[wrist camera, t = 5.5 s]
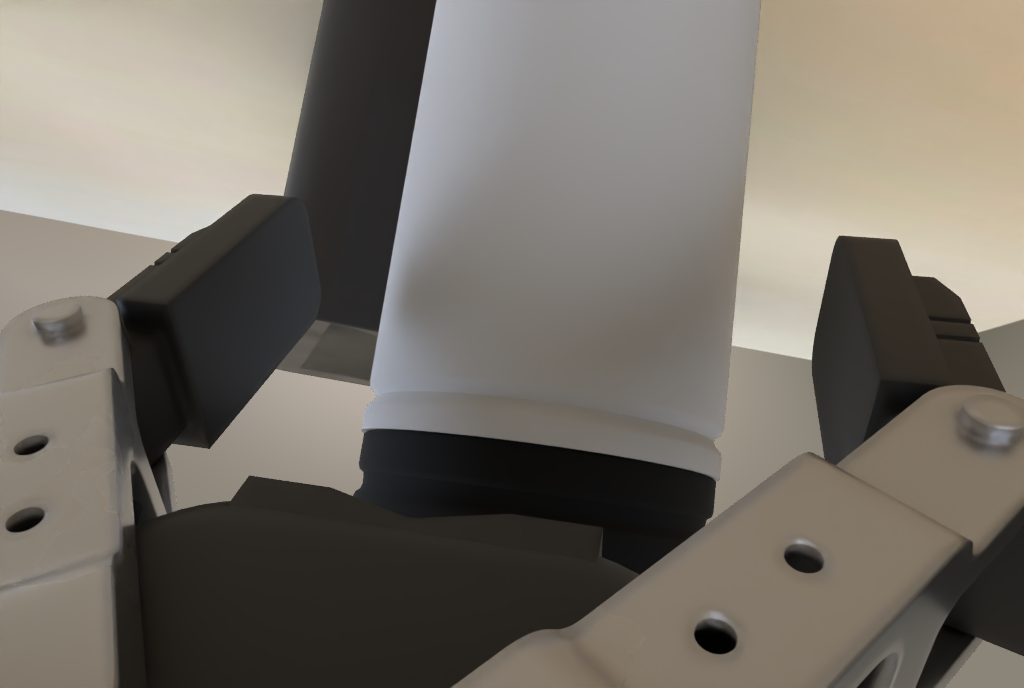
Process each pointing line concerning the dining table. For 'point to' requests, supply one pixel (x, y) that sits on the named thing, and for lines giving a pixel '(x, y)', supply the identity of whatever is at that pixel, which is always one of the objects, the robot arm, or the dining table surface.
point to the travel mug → (567, 268)
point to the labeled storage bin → (355, 171)
